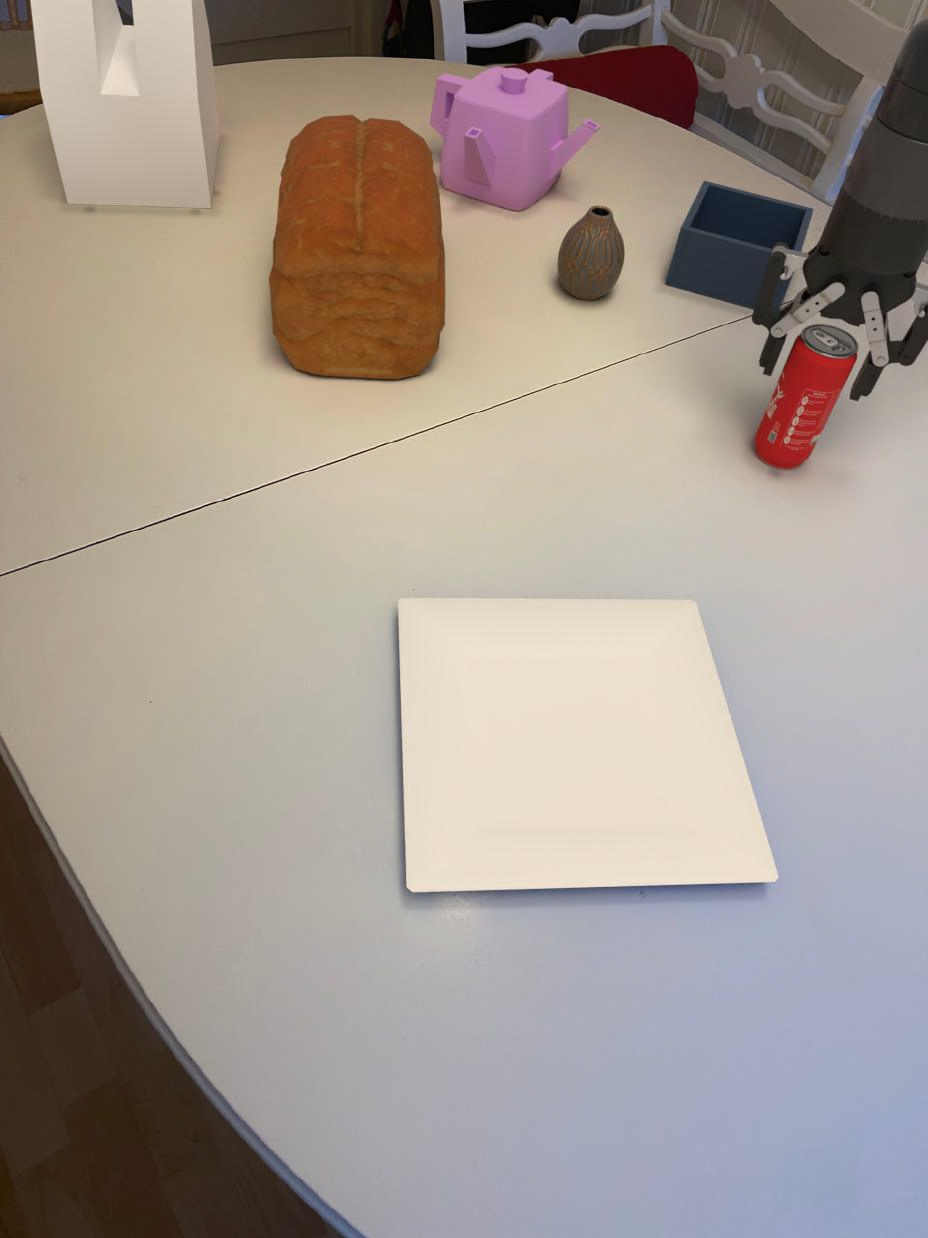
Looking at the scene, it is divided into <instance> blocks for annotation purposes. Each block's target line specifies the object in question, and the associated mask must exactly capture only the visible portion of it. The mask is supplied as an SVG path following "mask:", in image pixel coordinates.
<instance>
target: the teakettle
mask: <svg viewBox="0 0 928 1238" xmlns="http://www.w3.org/2000/svg"><path fill="white" fill-rule="evenodd" d="M434 85H435V86H434V92H433V97H432V98H433V100H432V105H431V112H430V118H429V119H430V120H429V126H431V127H432V128H433V129H434V131H436V133H438V135H439V136H441V138H442V139H443V141H442V149H441V155H440V164H439V171H440V172H439V173H440V177H441V183H442V186H443V188H444V189H446V190H448V191H451V192H453V193H456V194H459V195H462V196H465V197H468V198H471V199H473V200H477V201H479V202H483V203H486V204H489V205H493V206H495V207H499V208H502V209H506V210H510V211H514V212H520V211H523V210H525V209H528V208H529V207H531V206H532V205H534V204H535V203H537V202H538V201H539V200H541V198H543V197H544V196H545V195H546V194H547V193H548V192H549V191H550V189H551V188H552V187H553V185H554V184H555V182H556V181H557V180H558V178H559V175H560V174H561V171H562V169H563V167H564V166H565V165H566V164H567V163H568V162H569V161H570V160H571V159H572V158H574V156H575V155H576V154H577V153H578V152H579V151H580V150H581V149H582V148H583V146H585V145H586V143H588V142H589V140H590V139H591V138H592V137H593V136H594V135H595V134H596V133H597V132H598V131H599V130H600V128H601V125H600V124H598V123H597V122H595V121H593V120H592V119H589V118H586V119H585V120H584V121H583V122H582V124H581V125H580V126H578V127H577V128H576V129H575V130H574V131H573V132H572V133H571V134H570V135H569V122H570V121H569V118H570V117H569V115H570V114H569V89H568V87H567V86H566V84H562V83H560V82H557V81H554V73H553V72H551V71H547V70H544V69H540V68H536V69H534V70H533V71H532V72H530V73H528V72H527V71H525V70H524V69H521V68H517V67H504V66H497V65H496V66H493V67H490V68H487V69H486V70H485V71H482V72H480V73H479V74H478V75H475V76H474V77H473V78H471V79H469V78H466V77H462V76H457V75H454V74H449V73H445V72H444V73H443V74H441V75H440V76H438V77H437V78H436V79H435V84H434Z"/></svg>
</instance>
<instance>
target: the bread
mask: <svg viewBox="0 0 928 1238" xmlns="http://www.w3.org/2000/svg"><path fill="white" fill-rule="evenodd" d="M289 141H290V142H289V145H288V148H287V151H286V154H285V161H284V163H283V166H282V169H281V171H280V176H281V179H280V183H279V188H278V201H277V215H276V224H275V231H274V237H273V240H272V266H271V270H270V272H269V276H268V283H269V294H270V308H271V325H272V327H271V328H272V334H273V336H274V338H275V339H276V340H277V342H278V344H279V345H280V347H281V349H282V350H283V352H284V353H285V355H286V357H287V358H288V360H289V361H290V362H291V364H292V366H293V368H294V369H295V370H298V371H303V372H306V373H310V374H313V375H318V376H323V377H334V378H335V377H337V378H338V377H339V378H353V379H355V378H358V379H378V380H380V379H381V380H383V379H384V380H399V379H403V378H408V377H413V376H418V375H420V374H421V373H422V372H423V370H424V369H425V368H426V367H427V366H428V364H429V363H430V361H431V360H432V359H433V358H434V356H435V355H436V354H437V352H438V351H439V347H440V339H441V333H442V331H443V329H444V327H445V326H446V251H445V243H444V239H443V221H442V210H441V209H442V208H441V197H440V195H441V194H440V189H439V184H438V182H437V181H438V180H437V178H438V177H437V175H436V173H435V171H434V160H433V152H432V150H431V148H430V146H429V145H428V143H427V142H426V140H425V138H424V137H422V135H420V134H418V133H417V132H415V131H414V130H412V129H411V128H409V126H407V125H405V124H404V123H403V122H401V121H399V120H394V119H386V118H385V119H384V118H377V117H376V118H374V117H370V118H368V119H365V120H361V119H359V118H358V117H356V116H354V114H346V115H345V114H342V115H325V116H322V117H320V118H317V119H315V120H313V121H311V122H309V123H307V124H306V125H305V126H304V127H303V129H301V131H300V132H299V133H298V134H296V135H295V136H294V137H293V138H291V139H290V140H289Z"/></svg>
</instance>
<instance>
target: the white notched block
mask: <svg viewBox="0 0 928 1238" xmlns="http://www.w3.org/2000/svg"><path fill="white" fill-rule="evenodd" d="M131 5H132V6H131V7H132V8H131V9H132V18H133V19H132V20H133V25H129V24H123V20H122V18H121V17H122V16H121V14H120V11H119V8H118V5H117V1H116V0H30V9H31V16H32V17H31V19H32V27H33V36H34V37H33V38H34V45H35V54H36V63H37V73H38V78H39V79H38V80H39V81H38V82H39V89H40V95H41V99H42V103H43V108H44V111H45V115H46V118H47V119H46V120H47V124H48V129H49V132H50V136H51V140H52V144H53V145H52V146H53V148H54V153H55V157H56V161H57V165H58V169H59V173H60V177H61V182H62V185H63V189H64V190H63V191H64V195H65V199H66V202H67V205H89V206H90V205H93V206H117V207H118V206H119V207H120V206H121V207H122V206H124V207H126V206H127V207H150V208H151V207H152V208H154V207H155V208H184V209H187V208H188V209H212V205H213V198H214V197H213V196H214V189H215V180H216V173H217V164H218V155H219V148H220V139H221V128H220V116H219V109H218V99H217V89H216V81H215V71H214V62H213V54H212V44H211V43H212V42H211V35H210V33H211V32H210V28H209V22H208V17H207V11H206V5H205V0H131Z"/></svg>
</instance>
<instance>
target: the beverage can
mask: <svg viewBox="0 0 928 1238" xmlns="http://www.w3.org/2000/svg"><path fill="white" fill-rule="evenodd" d="M858 351H859V343H858V341H857V339H856V338H855V336H853V335H852V334H851V333H849V332H848V331H846V330H844V329H843V328H840V327H838V326H836V325H831V324H825V323H814V324H809V325H806V326H805V327H804V328H803V329H802V330H801V332H800V334H798V335H797V336H796V337H795V339H794V341H793V344H792V346H791V348H790V350H789V353H788V356H787V357H786V360H785V363H784V364H783V368H782V369H781V372H780V375H779V377H778V380H777V381H776V385H775V387H774V389H773V392H772V393H771V397H770V398H769V401H768V403H767V406H766V408H765V411H764V412H763V415H762V418H761V420H760V423H759V425H758V427H757V430H756V432H755V434H754V444H755V445H754V451H755V455H756V456H757V457H758V459H760V461H762V462H763V463H764V464H766V465H768V466H770V467H772V468H774V469H779V470H794V469H796V468H798V467H800V466H801V465H802V463H803V462H805V461H806V460H808V459H810V457H811V455H812V453H813V452H814V449H815V447H816V445H817V443H818V442H819V441H818V440H819V439H820V436H821V435H822V432H823V430H824V428H825V426H826V424H827V422H828V420H829V418H830V416H831V414H832V412H833V410H834V408H835V405H836V403H837V402H838V400H839V398H840V395H841V394H842V391H843V390H844V387H845V385H846V383H847V381H848V379H849V377H850V376H851V375H850V374H851V373H852V370H853V369H854V366H855V364H856V362H857V360H858Z"/></svg>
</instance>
